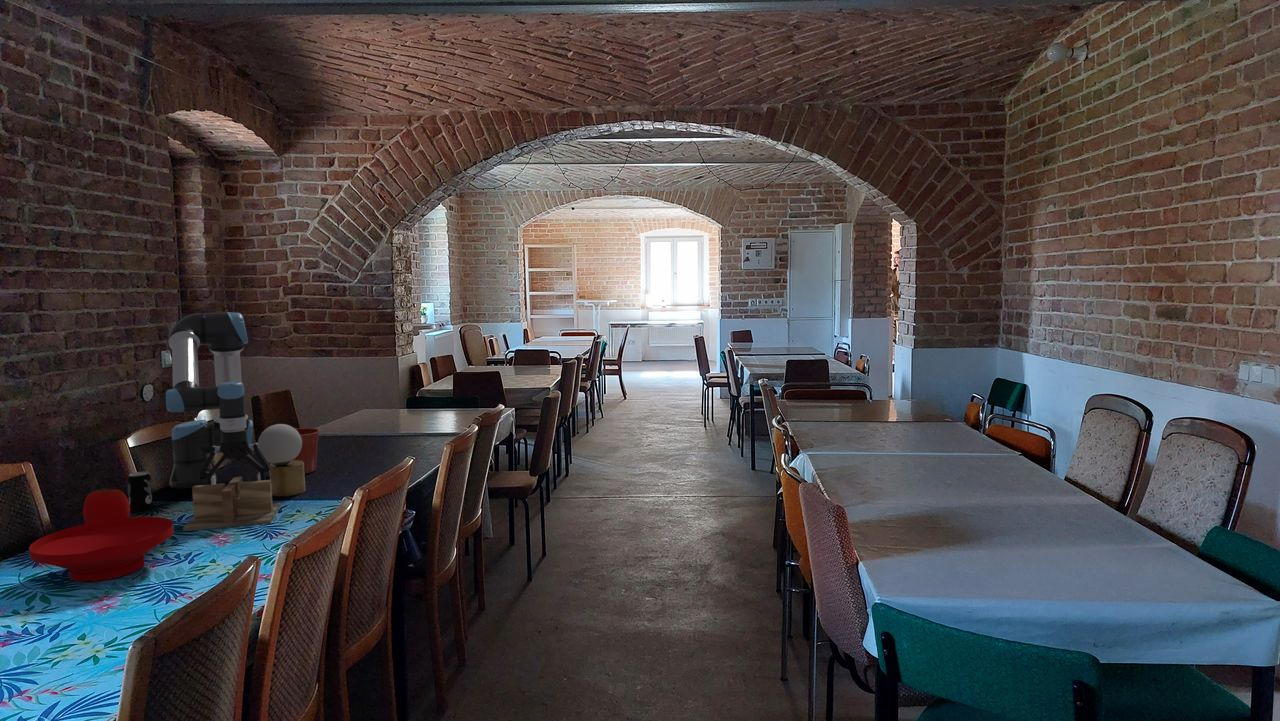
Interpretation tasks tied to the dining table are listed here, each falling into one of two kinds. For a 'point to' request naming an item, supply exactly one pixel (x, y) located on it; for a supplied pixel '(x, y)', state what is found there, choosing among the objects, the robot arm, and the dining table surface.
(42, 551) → the bowl
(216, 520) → the wooden joinery piece
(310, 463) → the flower pot
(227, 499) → the walnut plate
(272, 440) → the lamp
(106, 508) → the tomato
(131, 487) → the beverage can
